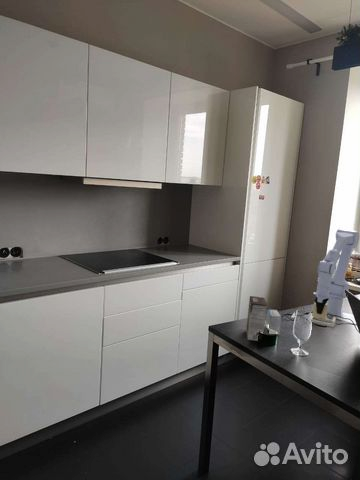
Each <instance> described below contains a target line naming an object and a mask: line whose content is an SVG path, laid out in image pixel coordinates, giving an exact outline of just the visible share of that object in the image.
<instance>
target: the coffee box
mask: <svg viewBox="0 0 360 480" xmlns="http://www.w3.org/2000/svg"><path fill="white" fill-rule="evenodd" d="M267 308H268V304H267V301H266V299H265V297H259V296H255V295H254V296H253V295H252V296H251V295H249V299H248V311H247V319H246V321H247V322H246V330H245V332H246V337H247V340H250V341H257V342H259V341H258V336H259V332H264V331H265V327H266V319H267V311H268V309H267Z"/></svg>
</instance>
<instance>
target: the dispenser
mask: <svg viewBox="0 0 360 480" xmlns="http://www.w3.org/2000/svg"><path fill="white" fill-rule="evenodd" d="M311 316H312V315H311ZM311 321H312V322H311ZM311 321H310V322H311V323H314V324H319V325H322V326H327V327H330V328H335V325H336V323H337V316H333V317H332V319H331V318H327V317H326V319H323V318H319V317H315V316H312V318H311Z"/></svg>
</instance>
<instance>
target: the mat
mask: <svg viewBox="0 0 360 480" xmlns="http://www.w3.org/2000/svg"><path fill="white" fill-rule="evenodd" d="M295 312H296V311H294V312H293V313H292V315H291V316H290V318H291V319H295V318H294V317H295ZM310 316H311V318H312V315H310Z"/></svg>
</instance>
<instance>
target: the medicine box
mask: <svg viewBox="0 0 360 480" xmlns="http://www.w3.org/2000/svg"><path fill="white" fill-rule="evenodd" d="M278 311H279V310H278V309H267V310H266V318H265V323H266V322H267V323H268V324H269V328H270V329H273V330H275V331H277V332H278V335H277V336H279V335H280V332H281V331H280V330H281V323H282V316H281V314H280V313H279V312H278Z"/></svg>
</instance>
